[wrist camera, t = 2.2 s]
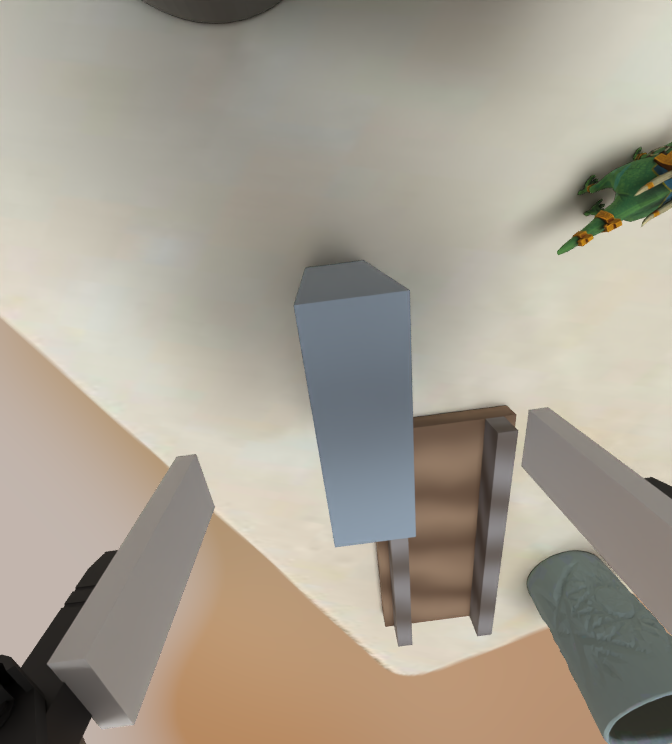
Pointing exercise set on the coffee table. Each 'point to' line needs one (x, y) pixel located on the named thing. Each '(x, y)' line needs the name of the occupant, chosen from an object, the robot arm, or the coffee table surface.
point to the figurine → (629, 194)
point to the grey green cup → (608, 646)
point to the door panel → (360, 397)
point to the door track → (452, 522)
